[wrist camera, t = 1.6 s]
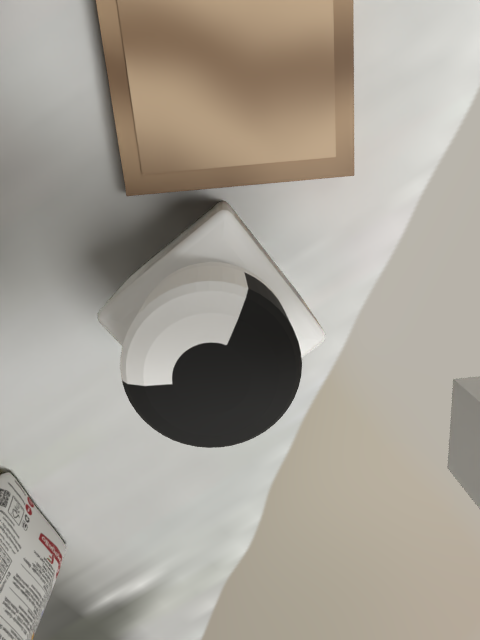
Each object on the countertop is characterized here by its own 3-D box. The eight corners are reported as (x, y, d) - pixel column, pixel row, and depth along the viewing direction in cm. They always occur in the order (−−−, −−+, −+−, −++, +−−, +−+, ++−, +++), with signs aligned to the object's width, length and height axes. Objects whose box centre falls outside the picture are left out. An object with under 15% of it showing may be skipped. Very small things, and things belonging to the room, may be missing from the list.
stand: (97, -58, 22) (80, -89, 20) (338, -78, 22) (353, -111, 20) (135, 194, 26) (126, 196, 23) (341, 175, 26) (355, 175, 23)
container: (301, 297, 28) (366, 392, 16) (207, 369, 29) (198, 509, 17) (224, 197, 26) (227, 217, 14) (125, 279, 27) (48, 365, 15)
